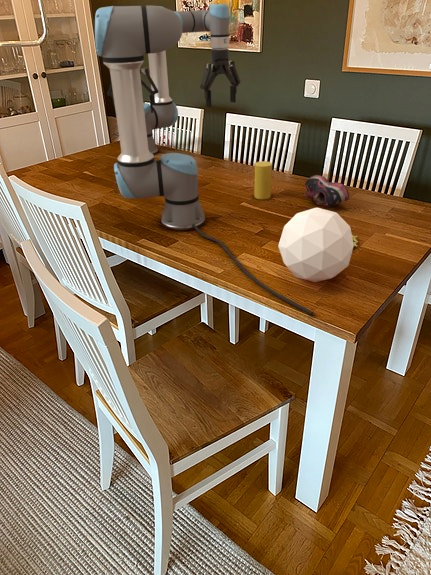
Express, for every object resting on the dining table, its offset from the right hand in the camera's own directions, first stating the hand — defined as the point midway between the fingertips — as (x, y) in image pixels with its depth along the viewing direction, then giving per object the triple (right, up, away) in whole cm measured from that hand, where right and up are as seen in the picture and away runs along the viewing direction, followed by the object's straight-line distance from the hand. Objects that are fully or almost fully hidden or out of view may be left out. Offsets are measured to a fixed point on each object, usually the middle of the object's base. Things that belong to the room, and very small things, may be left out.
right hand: (135, 113), depth 181 cm
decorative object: (+69, -56, -39) cm, 97 cm away
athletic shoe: (+73, -39, -13) cm, 83 cm away
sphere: (+60, -68, -58) cm, 107 cm away
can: (+51, -35, -6) cm, 62 cm away
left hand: (+35, +8, +11) cm, 38 cm away
